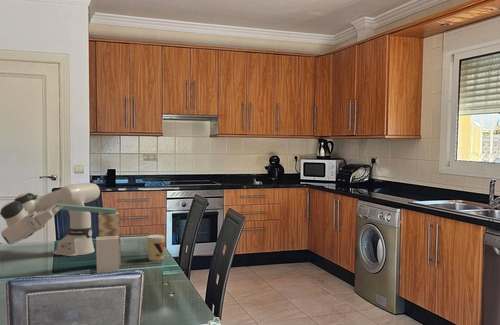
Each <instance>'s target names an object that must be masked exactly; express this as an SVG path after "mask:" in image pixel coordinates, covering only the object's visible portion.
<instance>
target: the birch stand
mask: <svg viewBox="0 0 500 325" xmlns="http://www.w3.org/2000/svg"><path fill="white" fill-rule="evenodd" d="M97 215H98V216H97V217H98V218H97V219H98V237H107V236H118V242H119V267H121V266H122V263H121V262H122V259H121V224H120V223H121V218H120V215H121V214H120V211H116V214H110V213H98V214H97Z"/></svg>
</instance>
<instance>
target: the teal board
mask: <svg viewBox="0 0 500 325" xmlns="http://www.w3.org/2000/svg"><path fill="white" fill-rule="evenodd" d="M59 205H63V208H62V209H60V210H61V211H68V210H73V211H85V212H90V213H98V214H99V213H110V214H116V212H117V209H116V208H111V207H99V206H89V205H88V206H86V205H84V206H77V205H65V204H56V206H55V208H56V207H58V206H59ZM60 210H59V211H60Z"/></svg>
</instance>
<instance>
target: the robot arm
mask: <svg viewBox="0 0 500 325" xmlns="http://www.w3.org/2000/svg"><path fill="white" fill-rule="evenodd" d="M100 193H101V190H100V187H99V185H97V184H96V183H92V182H82V183H80V182H79V183H74V184H67V185H65V186H63V187H61V188H60V189H58V190H55V191H51V192H48V193H46V194H45V195H43V196H41V197H39V198H38V195H37V194H34V193H31V192H25V193H20V194H19V195H17V197H15V199H14V200H13V201H9V202H8V203H5V205H3V206H2V208H0V216H1V217H2V218H3V219H4V220H5V223H6V226H7V227H6V228H5V229H3V230H2V231H1V236H2V238H3V239H4V241H5V242H6V243H7V244H8V245H14V244H16V243H18V242H21V241H23V240H25V239H28V238H29V237H31V236H33V234H34V233H36V232H38V231H40V230H42V229H43V228H45V227H46V223H48V221H50V220H51V219H52V218H54V216H55V215H56V214H57V213H58V212H59V211H60V209H62V208H63V205H59V206H58V207H56V208H55V206H56V204H65V205H77V206H85V204H86V203H90V202H92V201H96V200H97V199H98V198H99V197H100ZM67 211H68V214H69V225H70V228H68V229H66V231H65V232H66V233H67V234H66V235H65V236H64V237H63V238H62V239H60V240H59V241H58V242H57V245H56V246H57V247H56V249H55V250H53V251H52V254H53V255H61V256H69V257H75V256H83V255H89V254H92V253H94V252H95V250H96V249H95V248H94V247H95V246H94V243H93V242H94V241H93V227H92V212H85V211H73V210H67Z"/></svg>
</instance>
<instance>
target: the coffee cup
mask: <svg viewBox="0 0 500 325" xmlns="http://www.w3.org/2000/svg"><path fill="white" fill-rule="evenodd" d="M165 239H166V238H165V235H164V234H150V235H147V236H146V243H147V255H148V260H149V261H162V260H164V256H165ZM161 259H162V260H161Z"/></svg>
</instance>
